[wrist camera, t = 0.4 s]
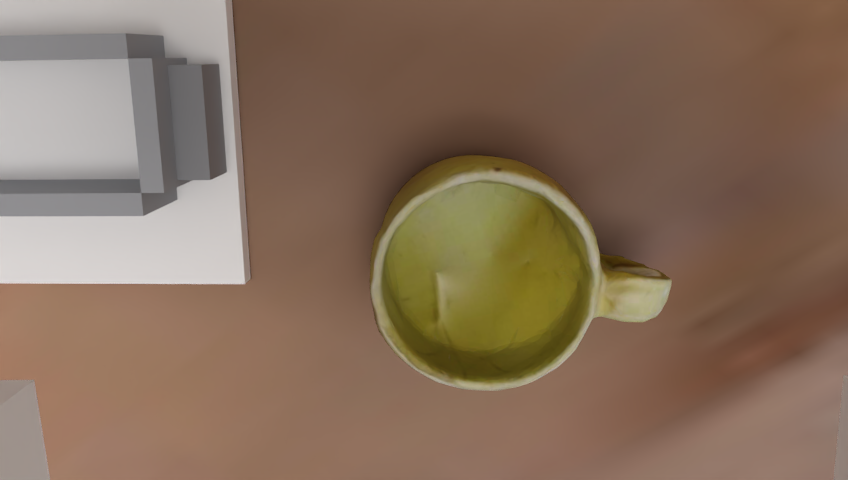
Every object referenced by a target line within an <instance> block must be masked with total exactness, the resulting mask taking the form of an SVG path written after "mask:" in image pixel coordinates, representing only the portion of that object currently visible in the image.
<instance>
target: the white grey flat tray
mask: <svg viewBox="0 0 848 480" xmlns="http://www.w3.org/2000/svg"><path fill="white" fill-rule="evenodd" d="M250 279H251V275H250V260H249V245H248V231H247V216H246V201H245V186H244V171H243V157H242V142H241V127H240V112H239V98H238V83H237V68H236V53H235V38H234V24H233V9H232V0H0V283H62V284H246V283H247V282H248V281H249V280H250Z"/></svg>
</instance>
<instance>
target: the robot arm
mask: <svg viewBox="0 0 848 480" xmlns="http://www.w3.org/2000/svg"><path fill="white" fill-rule="evenodd" d="M0 480H50V476H49V470H48V464H47V457H46V451H45V445H44V439H43V432H42V426H41V420H40V414H39V407H38V401H37V395H36V389H35V382H34V380H0ZM834 480H848V375H844V376H843V387H842V397H841V408H840V418H839V429H838V439H837V449H836V460H835V470H834Z"/></svg>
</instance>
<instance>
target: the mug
mask: <svg viewBox="0 0 848 480" xmlns="http://www.w3.org/2000/svg"><path fill="white" fill-rule="evenodd" d="M671 283H672V280H671V279H670V278H669V277H667V276H666V275H665V274H663V273H661V272H660V271H659V270H655V269H652V268H648V267H646V266H645V265H644V264H640V263H637V262H634V261H631V260H628V259H625V258H624V257H621V256H609V255H604V254H600V253H599V249H598V244H597V239H596V236H595V233H594V230H593V228H592V225H591V223H590V222H589V220H588V218H587V217H586V215H585V213H584V212H583V211H582V209H581V208H580V207H579V205H578V204H577V203H576V202H575V201H574V200H573V198H572V197H571V196H570V195H569V194H568V193H567V192H566V191H565V189H564V188H563V187H562V186H561V185H560V184H558V183H557V182H556V181H555V180H553V179H552V178H550V177H549V176H547V175H546V174H544V173H543V172H541V171H539V170H537V169H536V168H534V167H532V166H530V165H527V164H524V163H522V162H519V161H516V160H511V159H506V158H500V157H492V156H481V155H464V156H457V157H452V158H448V159H445V160H442V161H439V162H437V163H434V164H432V165H430V166H428V167H426V168H425V169H423V170H421V171H420V172H418V173H417V174H416V175H415V176H414V177H412V178H411V179H410V180H409V181H408V182H407V183H406V184H405V185H404V186H403V187H402V189H401V190H400V191H399V192H398V194H397V195H396V196H395V197H394V199H393V201H392V202H391V204H390V206H389V208H388V210H387V213H386V215H385V217H384V221H383V224H382V228H381V229H380V231H379V232H378V234H377V235H376V237H375V239H374V243H373V248H372V253H371V260H370V294H371V300H372V305H373V310H374V316H375V321H376V324H377V327H378V330H379V332H380V333H381V335H382V336H383V338H384V339H385V341H386V342H387V344H388V345H389V346H390V348H391V349H392V350H393V351H394V353H395V354H396V355H397V356H398V357H399V358H400V359H402V360H403V361H404V362H405V363H407V364H408V365H409V366H410V367H412V368H413V369H414V370H416V371H418V372H419V373H421V374H423V375H424V376H426V377H428V378H429V379H432V380H434V381H436V382H438V383H442V384H445V385H449V386H452V387H456V388H459V389H466V390H484V391H497V390H504V389H509V388H515V387H519V386H522V385H525V384H528V383H531V382H533V381H535V380H537V379H539V378H540V377H542V376H544V375H546V374H547V373H549V372H551V371H552V370H554V369H556V368H557V367H559V366H560V365H561V364H562V363H563V362H564V361H565V360H566V359H567V358H568V357H569V356H570V355H571V354H572V353H573V352H574V351H575V350H576V348H577V346H578V344H579V343H580V341H581V340H582V338H583V336H584V334H585V332H586V330H587V328H588V326H589V324H590V322H591V321H592V319H593V318H595V317H606V318H610V319H614V320H618V321H623V322H645V321H647V320H649V319H651V318H655V317H656V316H657V315H658V314H659V313H660V312H661V310H662V308H663V306H664V305H665V303H666V301H667V299H668V295H669V292H670V288H671Z"/></svg>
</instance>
